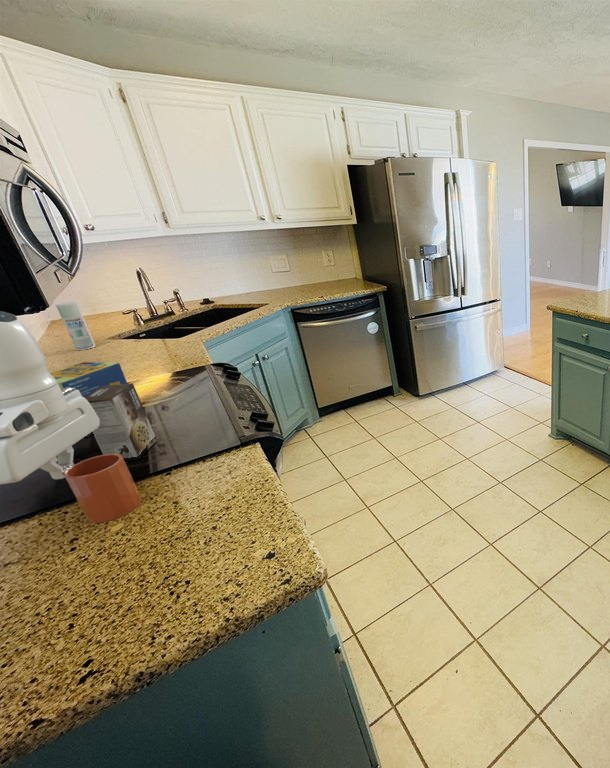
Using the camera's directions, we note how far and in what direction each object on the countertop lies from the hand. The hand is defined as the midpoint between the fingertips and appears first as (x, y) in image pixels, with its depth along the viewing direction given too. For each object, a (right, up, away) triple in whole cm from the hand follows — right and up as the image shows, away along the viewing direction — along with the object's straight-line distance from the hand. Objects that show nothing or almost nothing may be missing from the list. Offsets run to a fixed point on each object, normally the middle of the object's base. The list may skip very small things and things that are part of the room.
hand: (65, 474), depth 74 cm
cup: (+5, -8, +4) cm, 10 cm away
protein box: (-32, +5, +37) cm, 50 cm away
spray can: (-106, +32, +105) cm, 152 cm away
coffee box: (-9, 0, +23) cm, 25 cm away
